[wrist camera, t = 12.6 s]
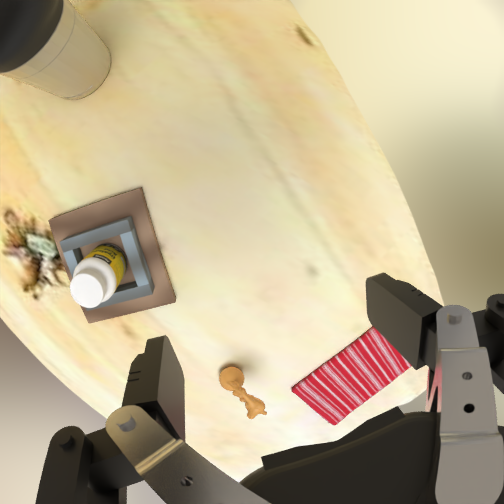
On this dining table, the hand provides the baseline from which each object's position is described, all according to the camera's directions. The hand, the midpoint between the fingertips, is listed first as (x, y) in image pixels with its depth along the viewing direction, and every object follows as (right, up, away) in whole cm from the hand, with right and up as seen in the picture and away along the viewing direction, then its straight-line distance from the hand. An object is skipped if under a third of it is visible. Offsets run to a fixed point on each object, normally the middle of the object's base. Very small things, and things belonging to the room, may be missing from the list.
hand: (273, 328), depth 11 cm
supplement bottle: (-20, +2, +27) cm, 33 cm away
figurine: (-4, -16, +37) cm, 40 cm away
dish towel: (+20, -20, +43) cm, 51 cm away
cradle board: (-20, +2, +28) cm, 34 cm away
